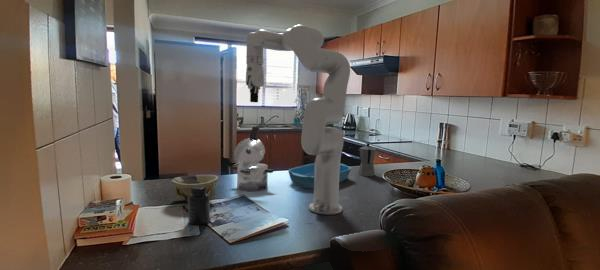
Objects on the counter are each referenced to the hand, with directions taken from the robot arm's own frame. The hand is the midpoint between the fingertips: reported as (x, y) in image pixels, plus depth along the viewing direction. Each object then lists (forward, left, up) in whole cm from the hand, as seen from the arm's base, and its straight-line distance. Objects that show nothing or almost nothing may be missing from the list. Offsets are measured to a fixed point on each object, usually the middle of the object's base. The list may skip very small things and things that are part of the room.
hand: (254, 102), depth 149 cm
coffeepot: (+46, -48, -40) cm, 78 cm away
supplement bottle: (-46, -2, -40) cm, 61 cm away
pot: (-1, 0, -40) cm, 40 cm away
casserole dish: (+22, -27, -40) cm, 53 cm away
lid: (-3, 0, -21) cm, 21 cm away
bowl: (-28, +12, -40) cm, 50 cm away
